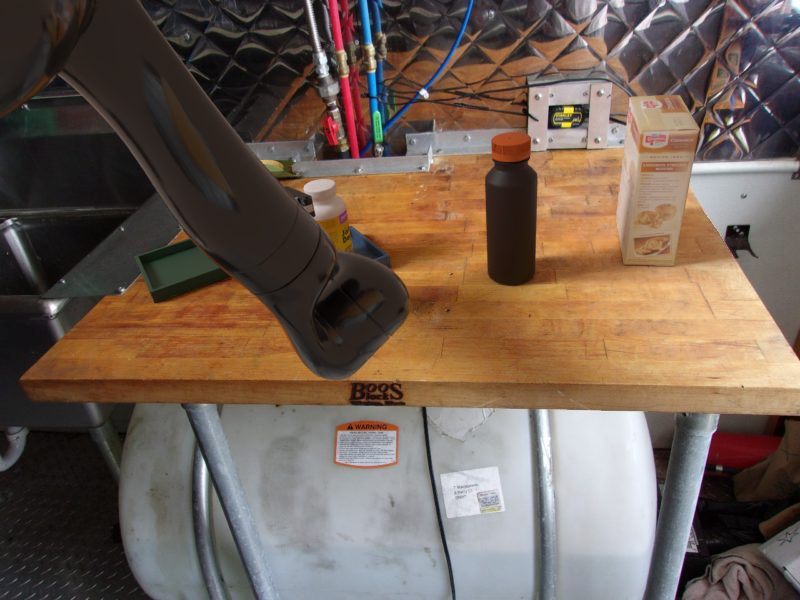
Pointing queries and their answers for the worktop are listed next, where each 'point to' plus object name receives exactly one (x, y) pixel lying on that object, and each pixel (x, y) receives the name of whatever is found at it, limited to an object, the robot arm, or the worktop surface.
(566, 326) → the worktop surface
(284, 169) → the edible corn
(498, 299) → the worktop surface
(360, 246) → the bottle tray
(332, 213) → the supplement bottle
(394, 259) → the worktop surface
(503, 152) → the vinegar
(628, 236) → the coffeecake box
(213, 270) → the can tray
